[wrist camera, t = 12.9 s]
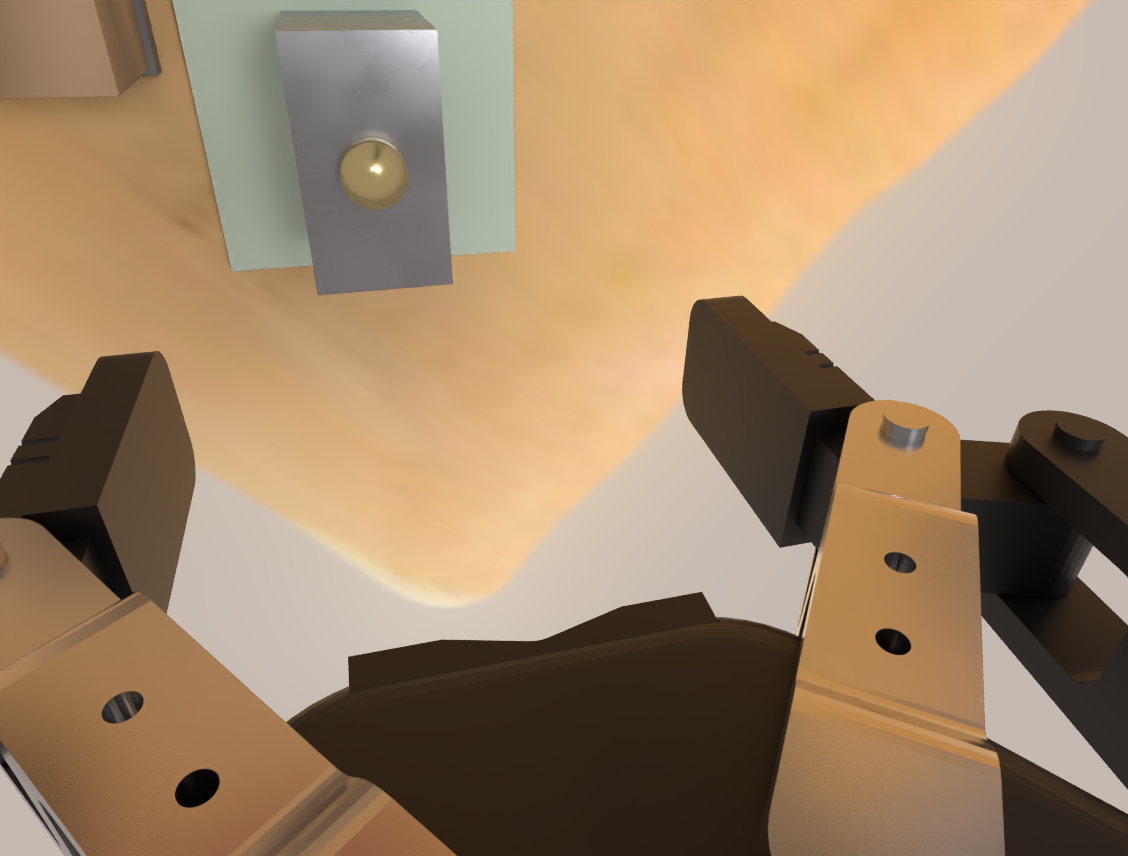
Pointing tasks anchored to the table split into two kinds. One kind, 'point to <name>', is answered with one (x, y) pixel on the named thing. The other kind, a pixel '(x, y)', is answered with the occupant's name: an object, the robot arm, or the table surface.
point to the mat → (263, 136)
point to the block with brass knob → (368, 146)
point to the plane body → (74, 47)
